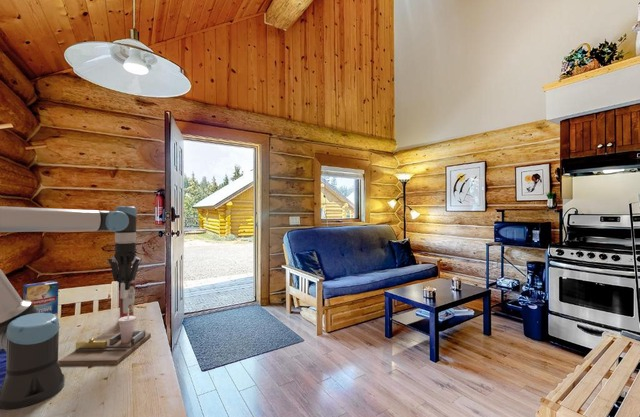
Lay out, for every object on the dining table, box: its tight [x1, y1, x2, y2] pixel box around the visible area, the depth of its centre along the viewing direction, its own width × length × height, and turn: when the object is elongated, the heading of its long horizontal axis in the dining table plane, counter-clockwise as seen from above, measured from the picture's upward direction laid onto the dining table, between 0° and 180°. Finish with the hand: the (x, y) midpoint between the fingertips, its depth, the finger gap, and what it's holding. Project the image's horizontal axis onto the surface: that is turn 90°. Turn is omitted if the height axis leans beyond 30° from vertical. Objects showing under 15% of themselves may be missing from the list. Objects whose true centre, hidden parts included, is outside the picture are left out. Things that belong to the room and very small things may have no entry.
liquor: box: [118, 280, 137, 319], centre depth 153 cm, size 7×7×28 cm
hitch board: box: [58, 332, 152, 366], centre depth 121 cm, size 24×21×2 cm
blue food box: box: [22, 280, 59, 318], centre depth 138 cm, size 7×11×22 cm, turn 146°
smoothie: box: [117, 308, 137, 343], centre depth 125 cm, size 6×6×14 cm
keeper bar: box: [75, 337, 107, 350], centre depth 117 cm, size 2×11×4 cm, turn 93°
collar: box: [109, 329, 146, 345], centre depth 126 cm, size 9×10×2 cm
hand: (124, 297), depth 125 cm, fingers closed
